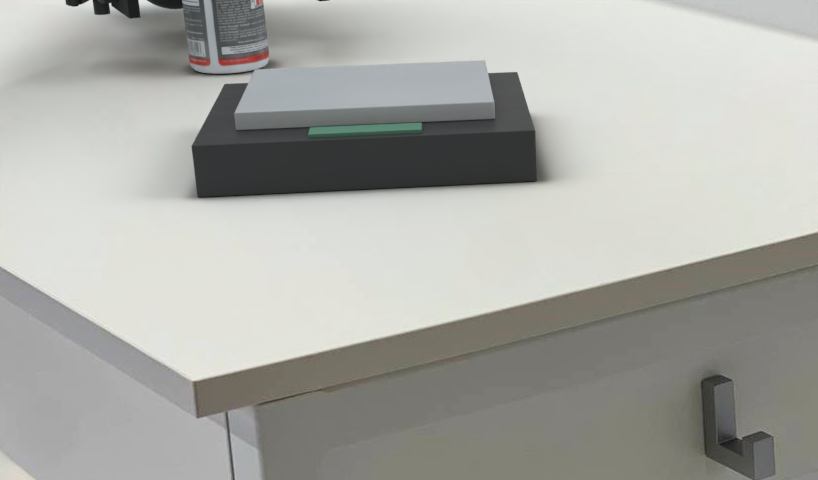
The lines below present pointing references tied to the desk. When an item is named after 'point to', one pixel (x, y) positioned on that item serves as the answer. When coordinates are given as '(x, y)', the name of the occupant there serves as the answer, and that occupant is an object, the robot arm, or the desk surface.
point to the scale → (365, 130)
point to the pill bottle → (226, 35)
